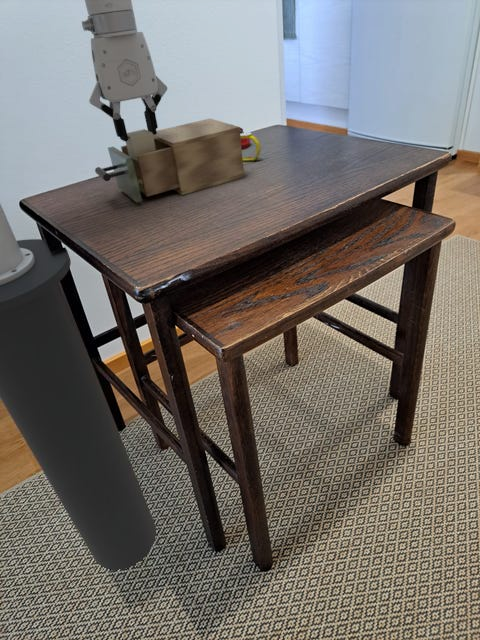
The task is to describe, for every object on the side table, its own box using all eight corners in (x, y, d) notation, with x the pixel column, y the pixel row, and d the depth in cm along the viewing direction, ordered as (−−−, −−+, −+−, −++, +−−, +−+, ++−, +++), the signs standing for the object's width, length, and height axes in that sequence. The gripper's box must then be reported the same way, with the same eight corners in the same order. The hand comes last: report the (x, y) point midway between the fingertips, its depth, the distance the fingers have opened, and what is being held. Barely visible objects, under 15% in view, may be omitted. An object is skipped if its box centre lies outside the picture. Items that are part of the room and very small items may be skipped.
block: (136, 161, 87) (130, 137, 84) (129, 156, 90) (123, 133, 87) (157, 155, 88) (152, 132, 86) (149, 151, 92) (144, 128, 89)
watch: (262, 159, 105) (260, 132, 101) (258, 162, 103) (255, 135, 99) (239, 158, 107) (237, 132, 104) (234, 161, 105) (231, 135, 102)
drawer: (115, 208, 85) (102, 164, 80) (98, 193, 94) (86, 152, 89) (198, 184, 92) (191, 142, 87) (175, 172, 100) (168, 133, 96)
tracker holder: (256, 142, 113) (217, 139, 110) (252, 159, 116) (215, 156, 113) (244, 121, 121) (208, 118, 118) (241, 137, 124) (205, 134, 121)
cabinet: (182, 195, 90) (172, 143, 84) (158, 180, 100) (148, 132, 94) (244, 177, 95) (239, 126, 90) (216, 164, 105) (210, 118, 99)
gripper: (68, 32, 71) (101, 150, 81) (168, 18, 77) (186, 130, 87) (59, 32, 76) (90, 143, 87) (152, 20, 82) (171, 125, 93)
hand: (138, 135), depth 87 cm, fingers open, 5 cm apart
